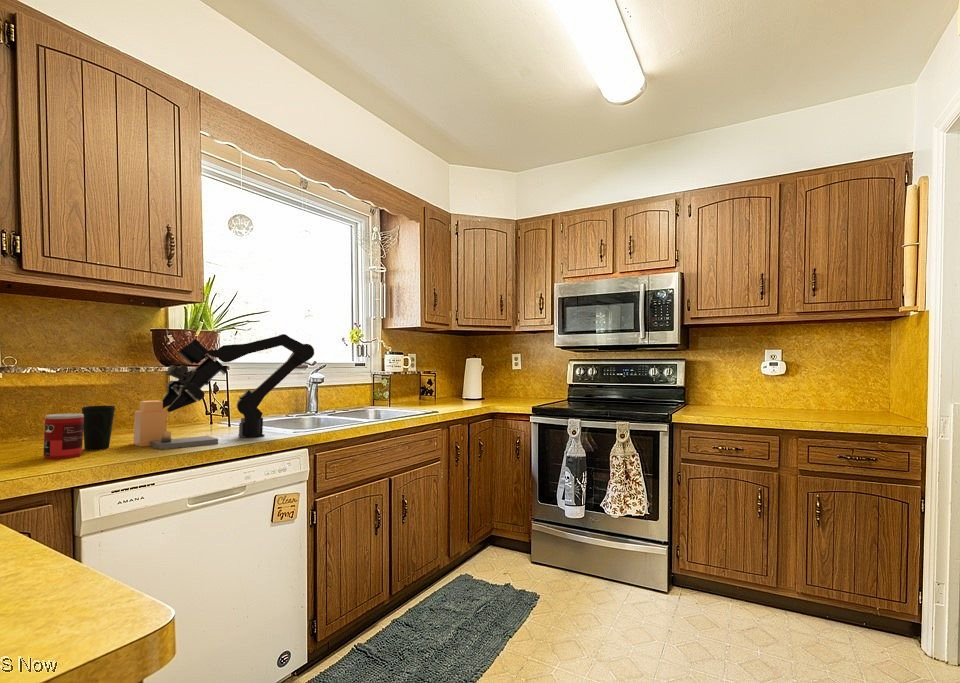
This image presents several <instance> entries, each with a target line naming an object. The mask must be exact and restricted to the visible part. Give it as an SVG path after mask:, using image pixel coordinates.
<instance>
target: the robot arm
mask: <svg viewBox="0 0 960 683" xmlns="http://www.w3.org/2000/svg"><path fill="white" fill-rule="evenodd" d="M280 346H282V347H284V348H285V349H287V350H289V351H290V352H292V353H291V354H290V356H289V357H288V358H287V360H286V361H285V362H284V363H282V365H280V366H279V367H278V368H277V369H276V370H275V371H274V372H272V373H271V375H269V376H268V377H267V378H266V379H265V380H264V381H263V382H261V384H260V385H258V386H257V387H256V388H254V389H253V390H250V389H249V388H248V389H246V390H245V391H244V393H243V394H241V395H239V396H238V400H237V402H236V409H237V410H238V412H239V413H240V414H242V415H243V417H241V418H240V422H239V424H238V425H239V426H238V434H237V436H238V437H240V438H241V437H242V438H258V437H265V436H266V435H265V434H264V433H263V430H264V427H263V426H264V424H263V423H264V417H262V416H263V411H261V410H260V408H258V407H259V406H260V404H261V402H262V401H263V399H264V398H265V397H266V396H267V395H268V394H269V393H270V392H271V391H272V390H274V388H276V387H277V385H278V384H280V383H281V382H282V381H283V380H285V378H287V376H289V374H291V373H292V372H293V370H295V369H297V367H299V366H301V365H303V364H305V363H306V362H308V361H309V360H311V359H312V358H313V357H314V356H315V349H314V347H313V346H312V345H311V344H309V343H302V342H300V341H298V340H296V339H295V338H292V337H290V336H289V335H287V334H286V333H285V334H284V333H283V334H279V335H276V336H273V337H272V336H271V337H268V338H264V339H260V340H257V341H252V342H247V343H238V344H235V343H234V344H226V345H222V346H220V347H219V348H218V349H209V350H208V349H207V348H206V347H205V346H203V344H201V342H200V341H199V340H198V339H197V338H194V339H193V340H192V341H191V342H189V343H188V344H186V345H185V346H184V347H182V348H181V349H180V350H179V351H178V352H177V353H178V354H179V355H180V356H181V357H182V358H183V359H185V360H186V361H187V362H188V363H189V364H190V365H193V364H195V365H198V366H197V367H196V368H194V369H191V370H189V367H188V366H186V365H184V364H181V365H180V366H178V365H175V364H173V365H172V364H170V365H169V367H168V369H167V371H166V372H165V375H167V376H171V377H173V378H175V379H177V380H170V381H169V382H167V384H166V386H165V388H166V393H165V395H164V397H163V398H162V400H161V401H163V409H165V408H166V411H167V413H168V412H169V413H171V412H174V411H175V410H178V409H181V408H184V407H186V406H189V405H191V404H194V403H197V402H200V401H202V400H203V398H205V392H204V391H203V390H202V388H203V387H204V386H209V384H210V381H211V380H212V379H213V378H214V377H215V376H216V375H217V374H219V373H221V374H222V375H226V374H228V365H223V364H222V363H221V362H223V363H230V362H233V361H236V360H238V359H240V358H242V357H245V356H246V355H249V354H252V353H257V352H261V351H265V350H269V349H272V348H273V349H274V348H277V347H280ZM211 357H213V358H217V359H216V360H214V359H213V358H211ZM204 359H205V360H204ZM203 360H204V361H203ZM218 360H219V361H218ZM202 361H203V362H202ZM199 363H201V364H199Z"/></svg>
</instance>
